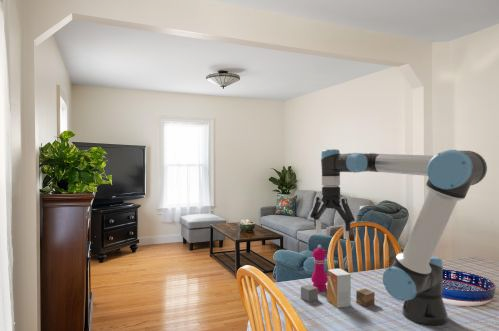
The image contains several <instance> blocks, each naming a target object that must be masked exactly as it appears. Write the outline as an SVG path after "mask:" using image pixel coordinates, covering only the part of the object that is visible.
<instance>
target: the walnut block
mask: <svg viewBox="0 0 499 331" xmlns="http://www.w3.org/2000/svg"><path fill="white" fill-rule="evenodd" d="M355 295H356V299H355V300H356V301H355V303H356V304H359V305H360V306H362V307H365V308H367V307H370V306H371V307H372V306H374V305H375V291H372V290H370V289H366V288H362V289H358V290H356V293H355Z"/></svg>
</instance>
